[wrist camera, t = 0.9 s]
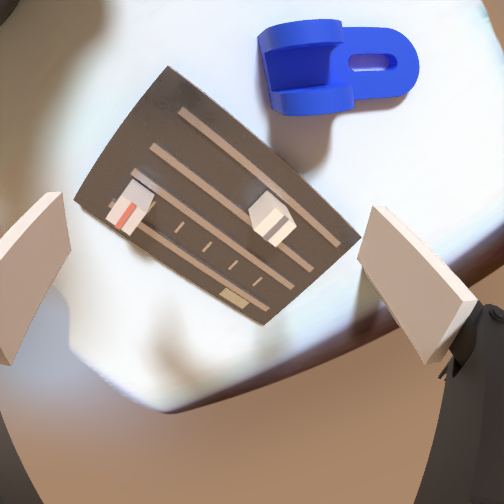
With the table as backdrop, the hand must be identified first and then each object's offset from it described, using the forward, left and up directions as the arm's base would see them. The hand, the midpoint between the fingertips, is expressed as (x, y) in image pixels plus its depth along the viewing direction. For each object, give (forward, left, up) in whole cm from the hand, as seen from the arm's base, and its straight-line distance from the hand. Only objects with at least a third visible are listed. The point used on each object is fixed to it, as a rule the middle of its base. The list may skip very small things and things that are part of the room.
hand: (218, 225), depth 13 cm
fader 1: (-2, -10, -21) cm, 24 cm away
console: (+7, -6, -23) cm, 25 cm away
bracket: (+5, +16, -24) cm, 29 cm away
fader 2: (+10, -2, -21) cm, 23 cm away
